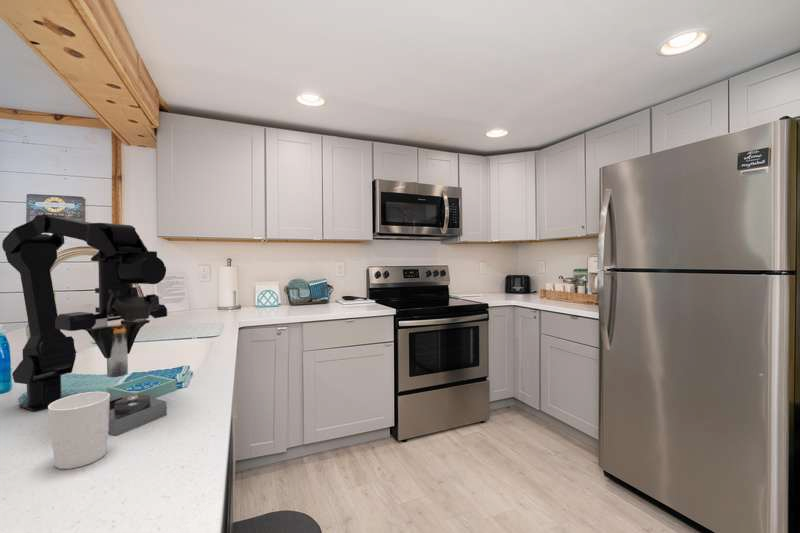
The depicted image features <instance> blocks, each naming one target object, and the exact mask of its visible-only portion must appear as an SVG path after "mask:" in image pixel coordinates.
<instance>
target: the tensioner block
mask: <svg viewBox="0 0 800 533" xmlns="http://www.w3.org/2000/svg"><path fill="white" fill-rule="evenodd" d="M167 413H168V412H167V400H163V399H159V398H156V397H155V398H151V397H150V396H148V395H137V394H133V393H129V394H125V395H122V396H119V397H116V398H113V399H110V410H109V430H108V435H112V436H115V437H116V436H118V435H121V434H123V433H126V432H129V431H132V430H134V429H135V428H138V427H141V426H143V425H145V424H148V423H151V422H153V421H155V420H158V419H160V418H163V417H164V416H167V415H168V414H167Z"/></svg>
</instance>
